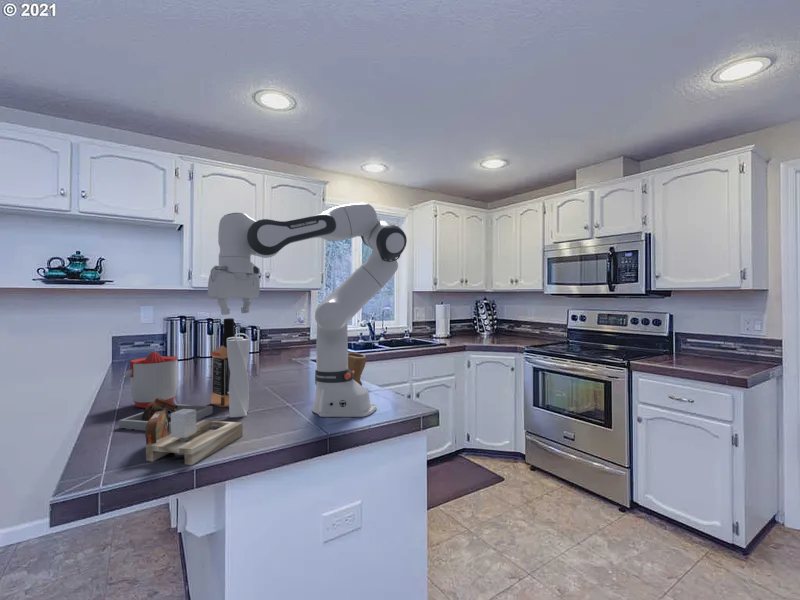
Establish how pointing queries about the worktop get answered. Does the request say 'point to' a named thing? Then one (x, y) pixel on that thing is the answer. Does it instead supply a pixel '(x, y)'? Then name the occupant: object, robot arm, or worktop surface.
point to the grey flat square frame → (137, 424)
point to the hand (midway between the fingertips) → (235, 313)
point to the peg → (183, 426)
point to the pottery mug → (157, 408)
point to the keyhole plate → (197, 441)
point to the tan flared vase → (356, 365)
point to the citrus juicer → (153, 379)
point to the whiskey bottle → (222, 368)
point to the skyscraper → (238, 375)
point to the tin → (157, 427)
